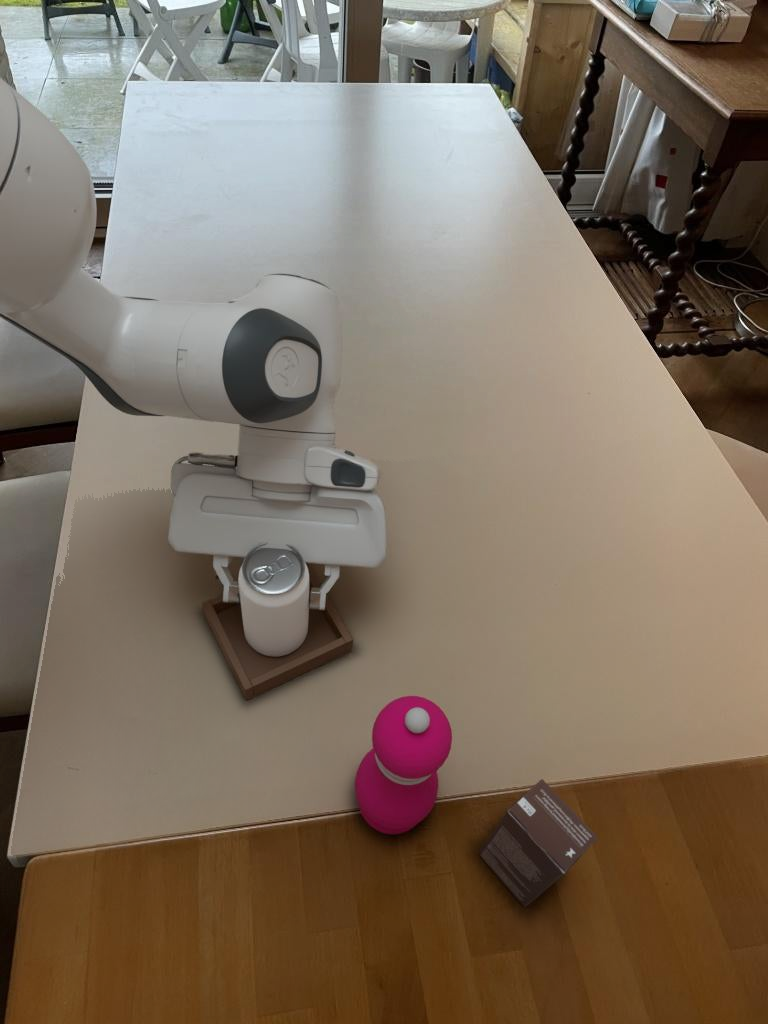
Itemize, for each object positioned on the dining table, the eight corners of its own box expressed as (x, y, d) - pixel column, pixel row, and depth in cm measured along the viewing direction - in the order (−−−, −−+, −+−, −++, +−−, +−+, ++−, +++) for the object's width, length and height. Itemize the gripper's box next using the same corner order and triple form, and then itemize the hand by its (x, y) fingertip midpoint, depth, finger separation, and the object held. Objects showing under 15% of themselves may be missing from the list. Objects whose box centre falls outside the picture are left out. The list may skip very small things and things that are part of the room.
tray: (246, 700, 76) (245, 690, 74) (204, 614, 81) (201, 602, 79) (352, 650, 80) (353, 639, 78) (305, 571, 85) (305, 559, 83)
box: (558, 872, 69) (601, 837, 59) (523, 909, 67) (562, 879, 57) (509, 818, 71) (542, 775, 62) (474, 851, 69) (503, 813, 60)
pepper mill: (445, 816, 71) (489, 737, 55) (376, 856, 68) (400, 785, 52) (406, 746, 74) (435, 652, 58) (338, 781, 72) (349, 694, 56)
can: (231, 623, 80) (222, 560, 70) (284, 591, 83) (282, 525, 73) (267, 670, 77) (263, 611, 68) (320, 635, 80) (324, 573, 70)
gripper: (164, 452, 69) (156, 604, 71) (395, 473, 70) (380, 623, 72) (180, 447, 75) (172, 587, 77) (392, 466, 76) (379, 604, 78)
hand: (274, 604), depth 74 cm, fingers open, 7 cm apart
